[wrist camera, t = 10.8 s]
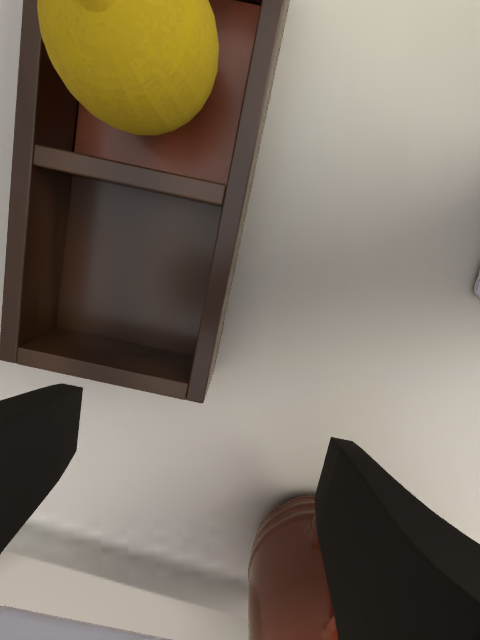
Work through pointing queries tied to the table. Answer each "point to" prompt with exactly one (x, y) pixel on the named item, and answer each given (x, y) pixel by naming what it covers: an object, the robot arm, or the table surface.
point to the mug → (289, 577)
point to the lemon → (134, 58)
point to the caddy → (132, 218)
